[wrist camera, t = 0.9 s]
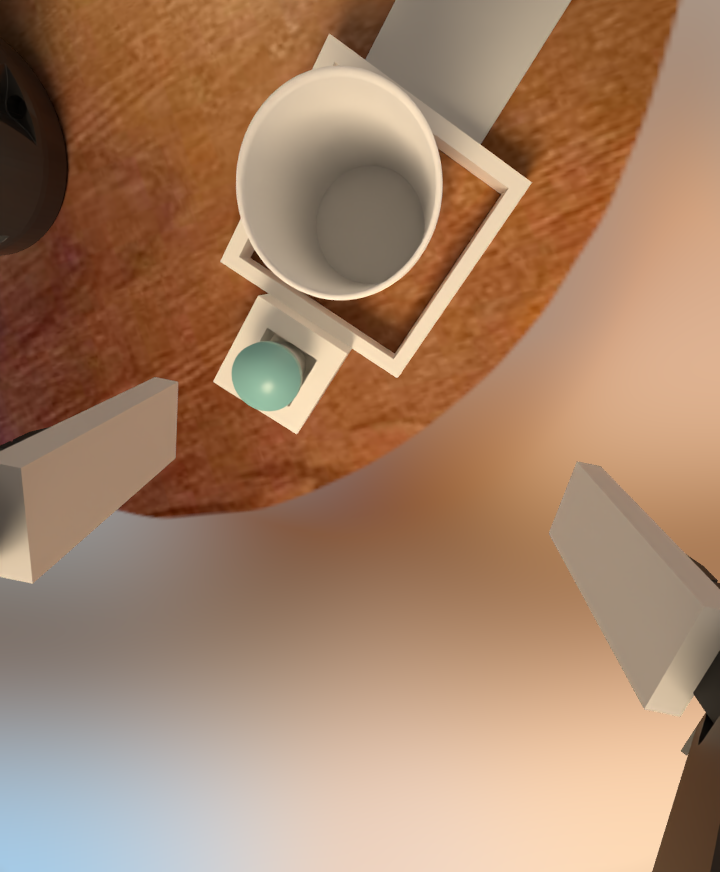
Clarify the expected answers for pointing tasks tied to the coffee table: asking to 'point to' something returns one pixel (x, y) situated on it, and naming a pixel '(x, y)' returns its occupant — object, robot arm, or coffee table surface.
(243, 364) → the mint mushroom button
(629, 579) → the robot arm
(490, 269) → the coffee table surface
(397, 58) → the pad
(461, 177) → the coffee table surface
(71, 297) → the coffee table surface
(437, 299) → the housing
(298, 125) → the cup
